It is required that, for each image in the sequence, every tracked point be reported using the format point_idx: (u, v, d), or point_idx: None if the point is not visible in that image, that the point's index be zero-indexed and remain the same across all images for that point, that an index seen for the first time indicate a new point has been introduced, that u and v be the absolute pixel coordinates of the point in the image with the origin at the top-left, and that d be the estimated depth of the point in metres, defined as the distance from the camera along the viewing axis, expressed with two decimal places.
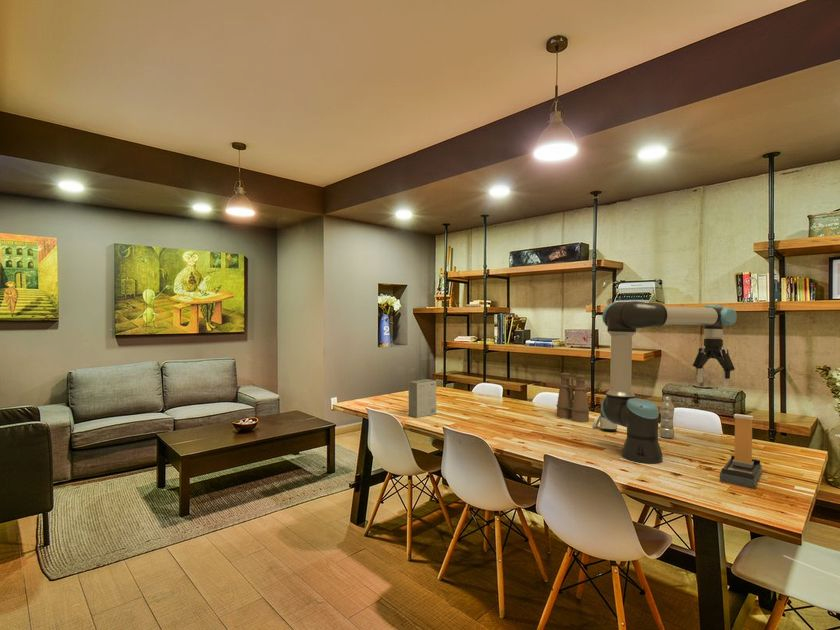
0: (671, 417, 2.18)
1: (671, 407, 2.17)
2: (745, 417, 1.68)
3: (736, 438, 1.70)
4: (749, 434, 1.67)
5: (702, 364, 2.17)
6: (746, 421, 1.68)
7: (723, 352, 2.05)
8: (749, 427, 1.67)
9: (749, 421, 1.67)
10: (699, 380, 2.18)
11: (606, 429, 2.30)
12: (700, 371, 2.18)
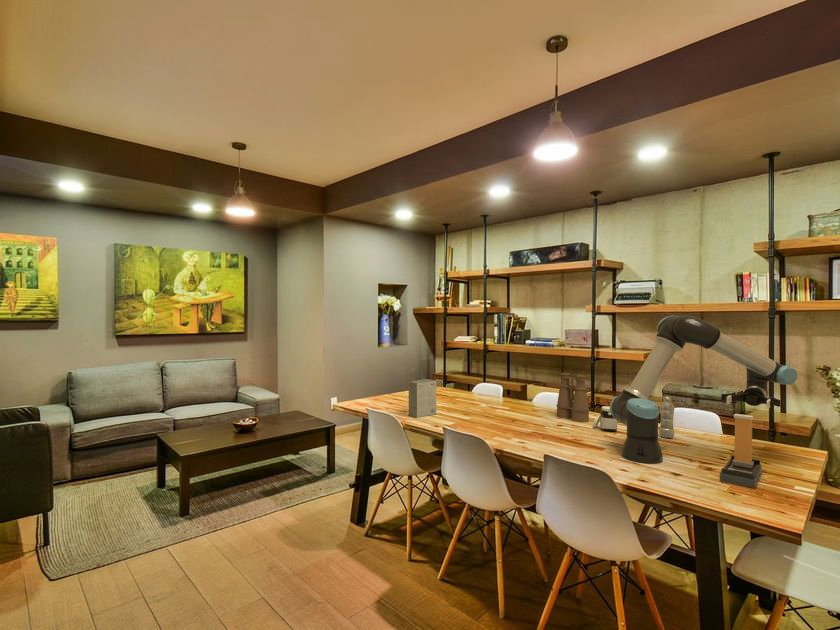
0: (671, 417, 2.18)
1: (671, 407, 2.17)
2: (745, 417, 1.68)
3: (736, 438, 1.70)
4: (749, 434, 1.67)
5: (734, 398, 1.87)
6: (746, 421, 1.68)
7: (771, 397, 1.84)
8: (749, 427, 1.67)
9: (749, 421, 1.67)
10: (729, 398, 1.82)
11: (606, 429, 2.30)
12: (731, 397, 1.85)
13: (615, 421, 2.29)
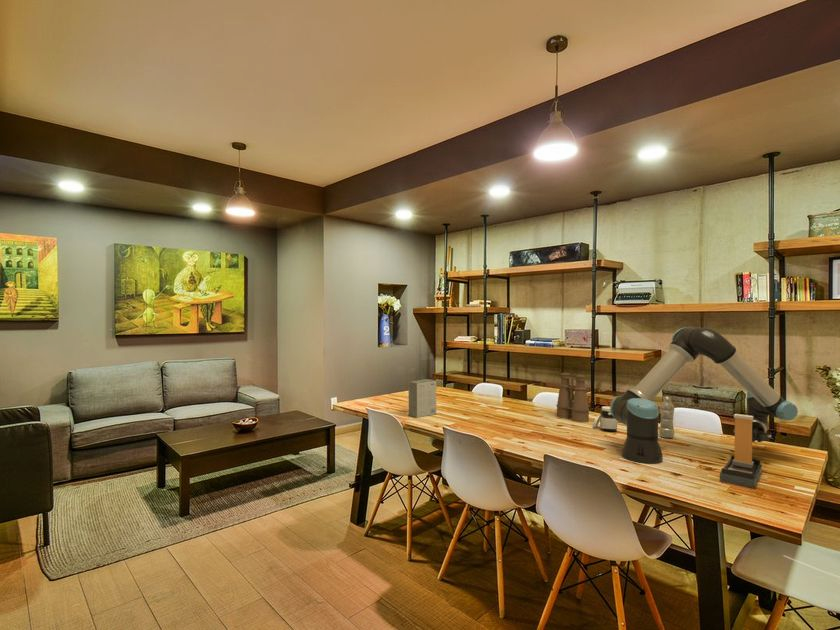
0: (671, 417, 2.18)
1: (671, 407, 2.17)
2: (745, 417, 1.68)
3: (736, 438, 1.70)
4: (749, 434, 1.67)
5: None
6: (746, 421, 1.68)
7: (768, 433, 1.83)
8: (749, 427, 1.67)
9: (749, 421, 1.67)
10: None
11: (606, 429, 2.30)
12: None
13: (615, 421, 2.29)
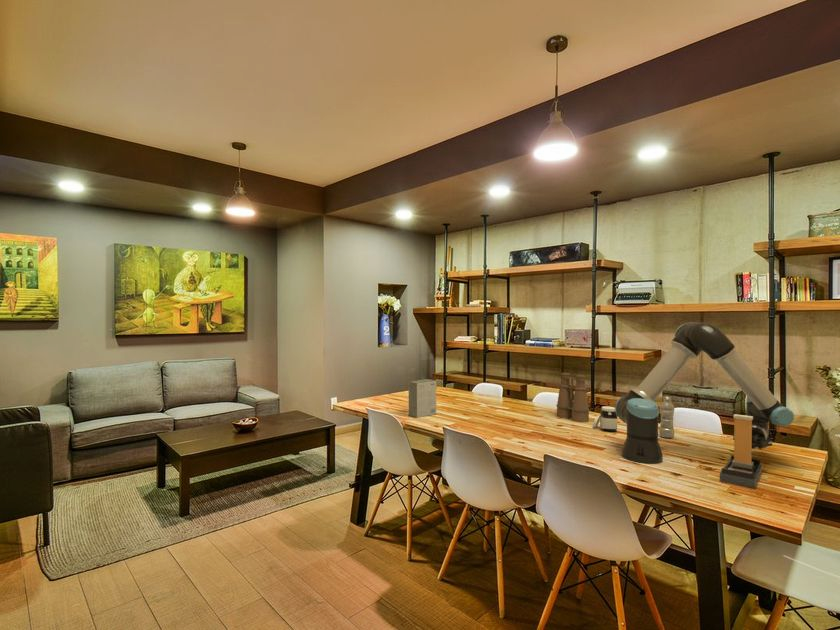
0: (671, 417, 2.18)
1: (671, 407, 2.17)
2: (745, 417, 1.67)
3: (736, 439, 1.69)
4: (749, 434, 1.66)
5: None
6: (746, 421, 1.67)
7: (769, 439, 1.77)
8: (749, 427, 1.66)
9: (749, 421, 1.66)
10: None
11: (606, 429, 2.30)
12: None
13: (615, 421, 2.29)
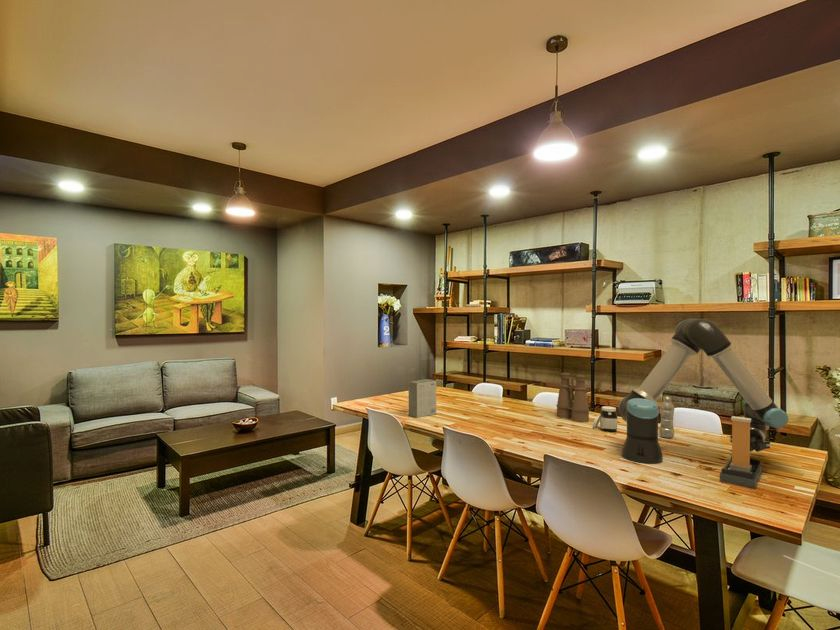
0: (671, 417, 2.18)
1: (671, 407, 2.17)
2: (743, 420, 1.63)
3: (733, 441, 1.65)
4: (747, 437, 1.62)
5: None
6: (744, 424, 1.63)
7: (766, 442, 1.73)
8: (747, 430, 1.62)
9: (747, 424, 1.62)
10: None
11: (606, 429, 2.30)
12: None
13: (615, 421, 2.29)
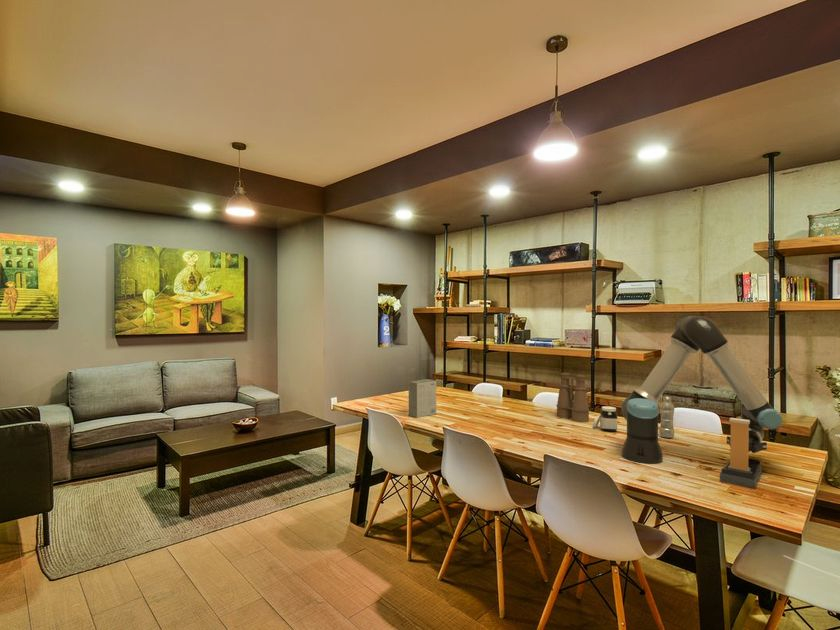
0: (671, 417, 2.18)
1: (671, 407, 2.17)
2: (741, 421, 1.60)
3: (732, 443, 1.62)
4: (745, 439, 1.60)
5: None
6: (742, 425, 1.60)
7: (763, 443, 1.71)
8: (745, 432, 1.60)
9: (745, 425, 1.60)
10: None
11: (606, 429, 2.30)
12: None
13: (615, 421, 2.29)
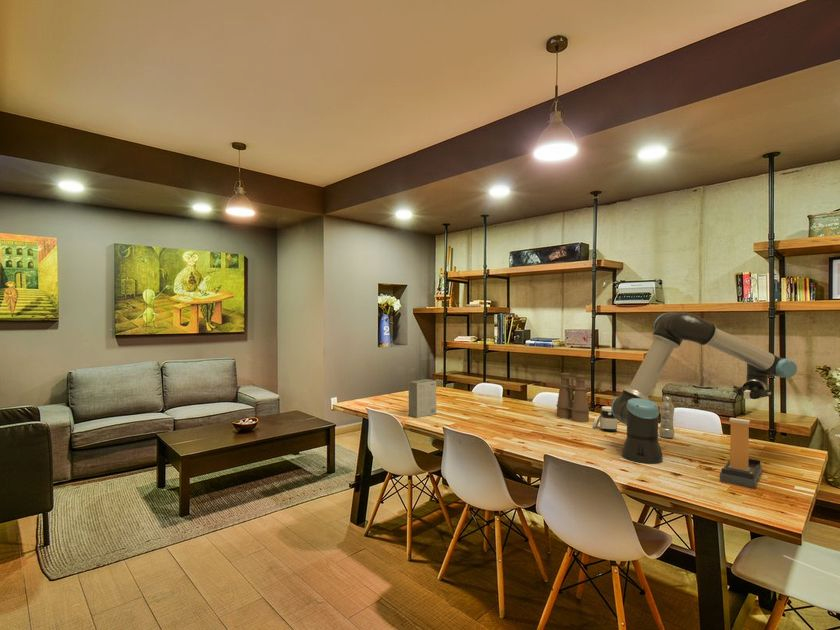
0: (671, 417, 2.18)
1: (671, 407, 2.17)
2: (741, 421, 1.60)
3: (732, 443, 1.62)
4: (745, 439, 1.60)
5: None
6: (742, 425, 1.60)
7: (768, 390, 1.81)
8: (745, 432, 1.60)
9: (745, 425, 1.60)
10: None
11: (606, 429, 2.30)
12: None
13: (615, 421, 2.29)
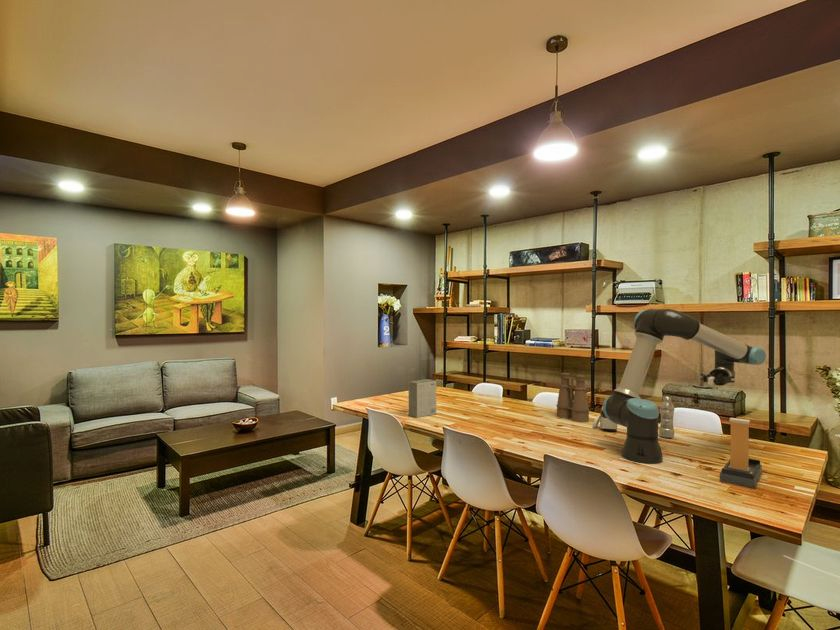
0: (671, 417, 2.18)
1: (671, 407, 2.17)
2: (741, 421, 1.60)
3: (732, 443, 1.62)
4: (745, 439, 1.60)
5: None
6: (742, 425, 1.60)
7: (731, 376, 1.94)
8: (745, 432, 1.60)
9: (745, 425, 1.60)
10: None
11: (606, 429, 2.30)
12: None
13: None
